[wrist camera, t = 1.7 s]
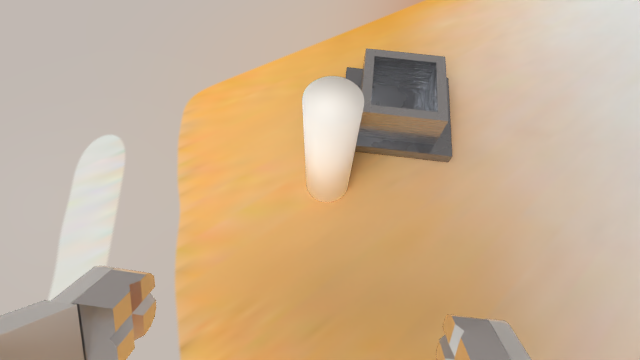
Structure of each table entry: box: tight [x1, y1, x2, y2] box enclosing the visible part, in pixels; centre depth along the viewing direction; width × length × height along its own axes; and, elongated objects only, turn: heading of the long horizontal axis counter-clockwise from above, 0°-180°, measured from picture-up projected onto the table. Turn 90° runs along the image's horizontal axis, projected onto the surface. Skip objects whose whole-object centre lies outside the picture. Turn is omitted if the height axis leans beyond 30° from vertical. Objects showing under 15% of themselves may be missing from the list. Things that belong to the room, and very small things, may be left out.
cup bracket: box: [346, 49, 452, 162], centre depth 31 cm, size 10×9×4 cm
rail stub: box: [302, 76, 364, 202], centre depth 25 cm, size 4×4×11 cm
